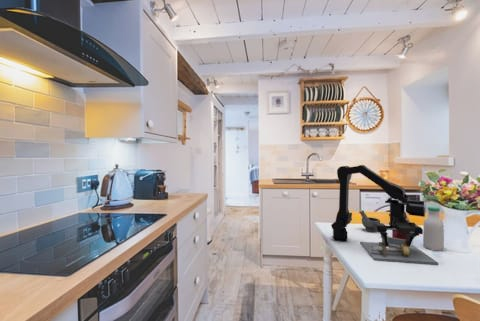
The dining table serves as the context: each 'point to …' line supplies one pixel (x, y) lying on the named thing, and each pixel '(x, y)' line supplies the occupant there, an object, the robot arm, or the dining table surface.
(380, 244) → the eye staple
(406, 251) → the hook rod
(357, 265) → the dining table surface
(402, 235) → the soda can
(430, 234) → the milk bottle
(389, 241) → the ball-ended metal rod
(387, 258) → the flat gray base plate
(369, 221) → the mortar and pestle
